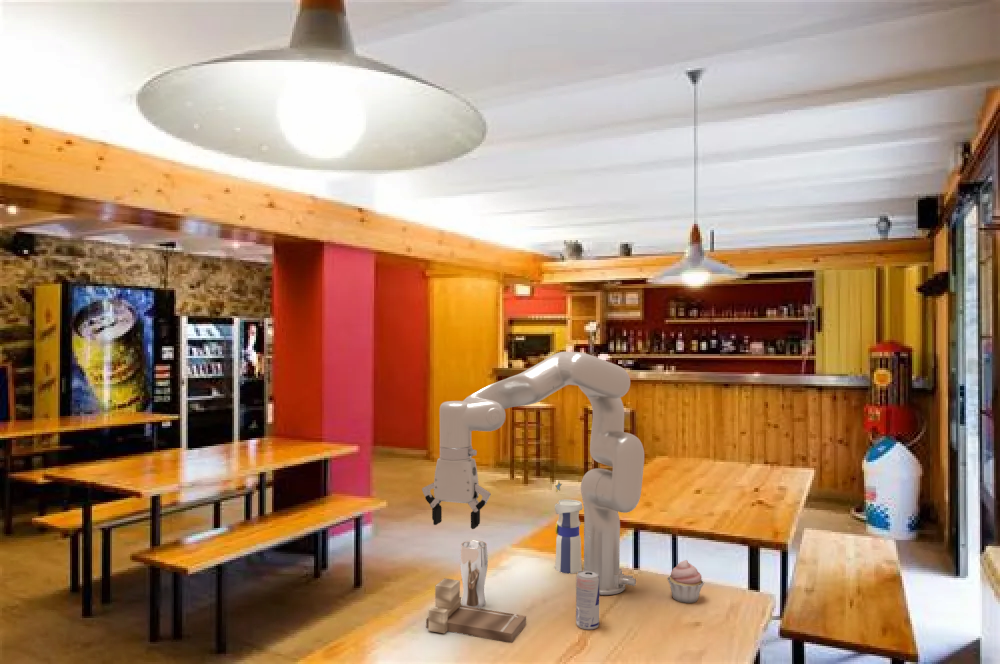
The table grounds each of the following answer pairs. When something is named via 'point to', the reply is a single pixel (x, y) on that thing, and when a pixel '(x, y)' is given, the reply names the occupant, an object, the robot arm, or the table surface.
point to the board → (485, 623)
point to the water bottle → (568, 536)
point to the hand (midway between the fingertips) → (455, 525)
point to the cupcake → (685, 582)
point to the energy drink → (587, 599)
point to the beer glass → (473, 572)
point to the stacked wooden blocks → (444, 604)
